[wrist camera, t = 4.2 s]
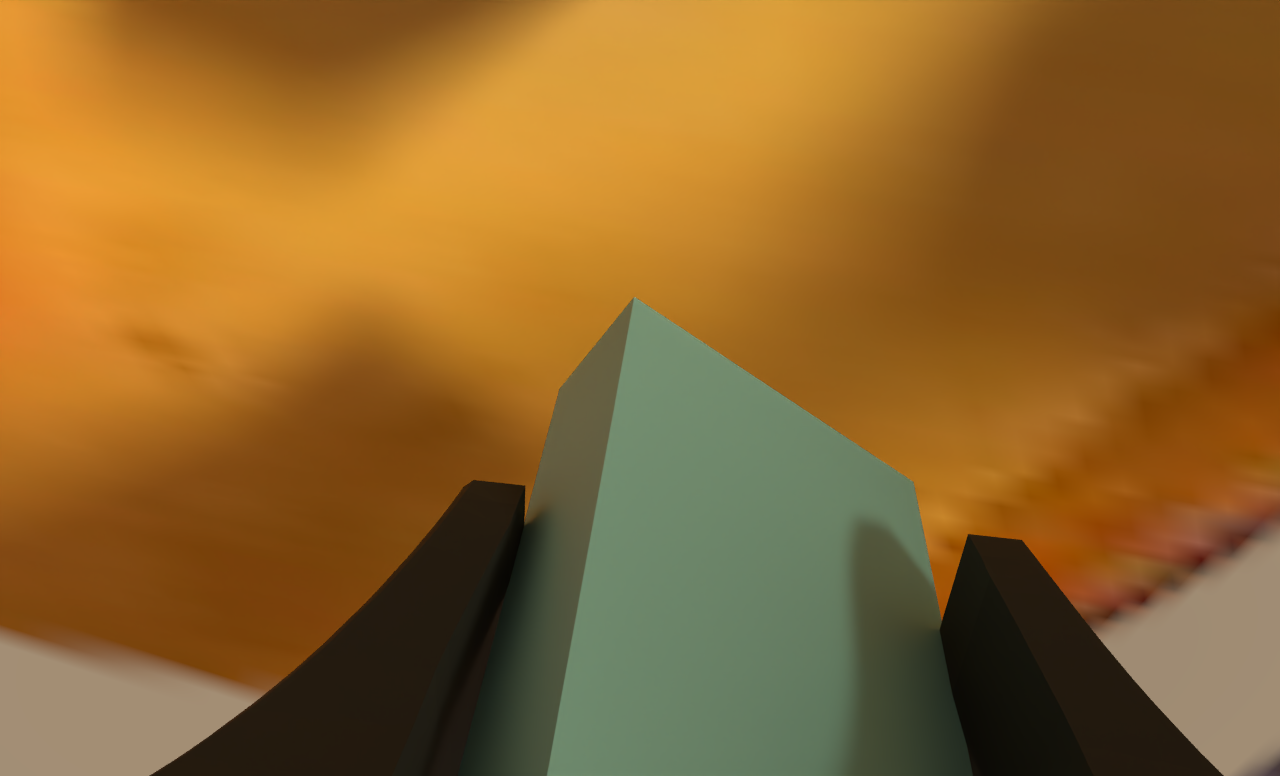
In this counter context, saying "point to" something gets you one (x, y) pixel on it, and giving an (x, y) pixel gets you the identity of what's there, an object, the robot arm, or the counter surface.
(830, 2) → the counter surface
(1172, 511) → the counter surface
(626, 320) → the domino
